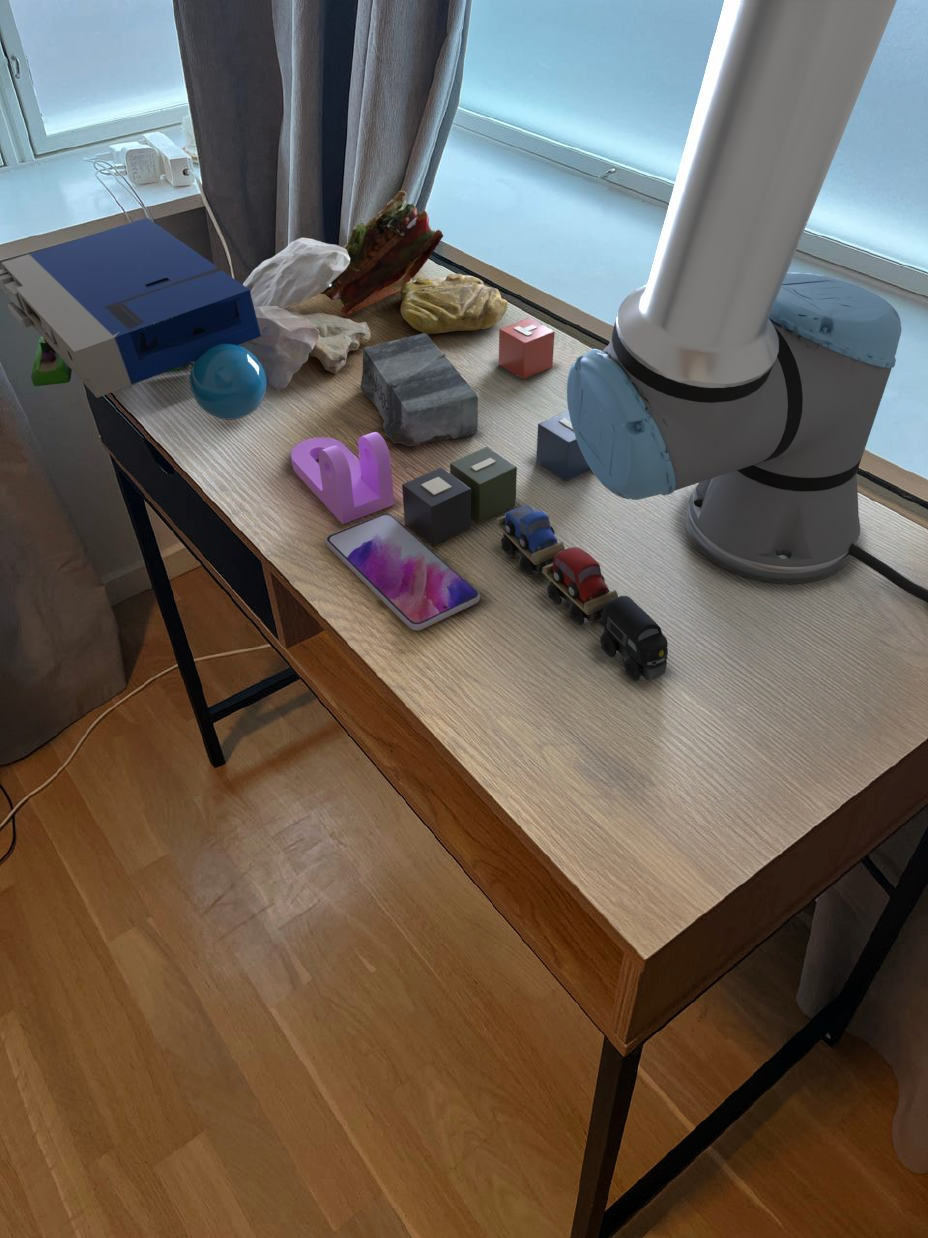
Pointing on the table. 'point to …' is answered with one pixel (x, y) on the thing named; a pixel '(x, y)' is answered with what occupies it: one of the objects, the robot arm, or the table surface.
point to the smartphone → (402, 571)
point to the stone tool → (281, 343)
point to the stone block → (418, 391)
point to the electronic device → (127, 304)
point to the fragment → (296, 273)
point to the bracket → (346, 474)
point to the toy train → (585, 592)
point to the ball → (228, 381)
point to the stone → (335, 338)
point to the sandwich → (384, 255)
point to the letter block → (526, 347)
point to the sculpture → (451, 304)
